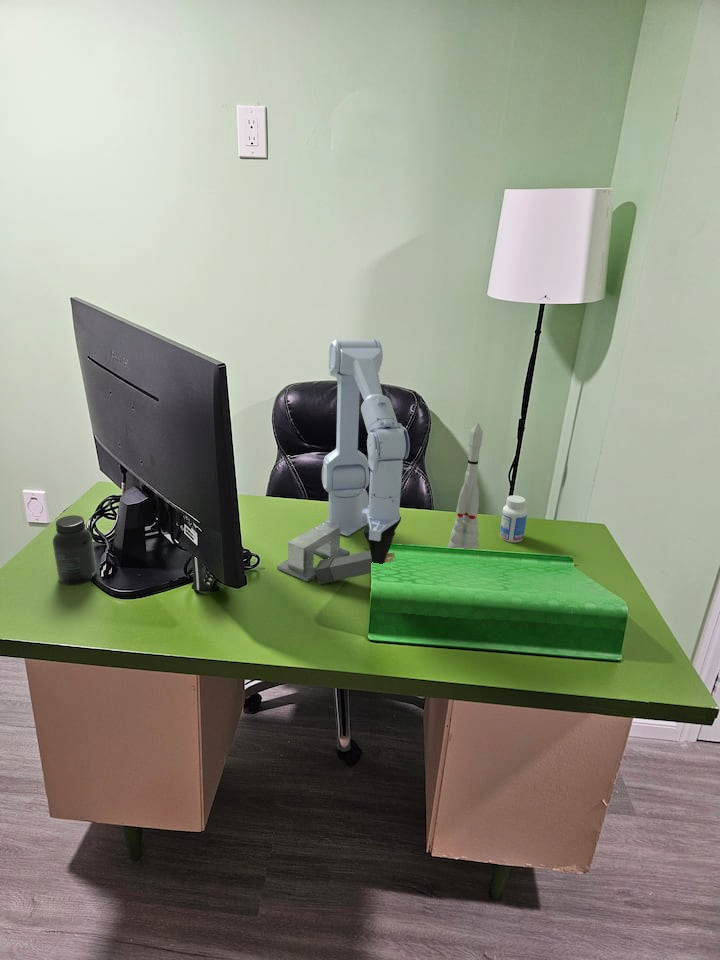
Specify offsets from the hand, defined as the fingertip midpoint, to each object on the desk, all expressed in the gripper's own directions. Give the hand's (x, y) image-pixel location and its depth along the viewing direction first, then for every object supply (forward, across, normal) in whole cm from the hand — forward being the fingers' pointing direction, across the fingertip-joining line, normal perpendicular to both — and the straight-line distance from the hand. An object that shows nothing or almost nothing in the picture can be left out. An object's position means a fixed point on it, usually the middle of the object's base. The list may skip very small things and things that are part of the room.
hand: (380, 557), depth 120 cm
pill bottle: (+7, -30, +24) cm, 40 cm away
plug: (+4, 0, -5) cm, 6 cm away
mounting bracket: (+7, -6, -15) cm, 17 cm away
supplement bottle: (+7, +14, -57) cm, 59 cm away
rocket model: (+7, -18, +14) cm, 24 cm away
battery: (+7, +8, -32) cm, 34 cm away
